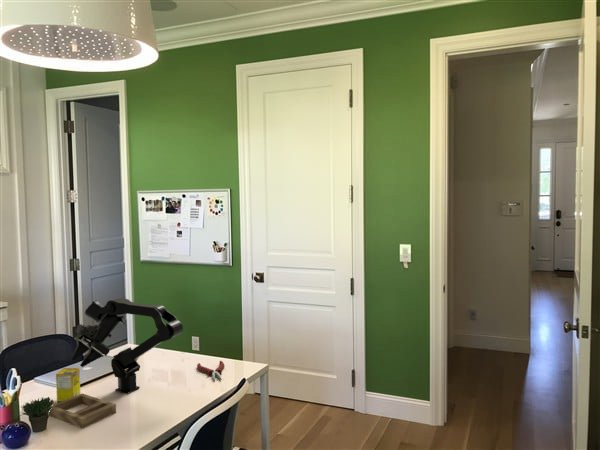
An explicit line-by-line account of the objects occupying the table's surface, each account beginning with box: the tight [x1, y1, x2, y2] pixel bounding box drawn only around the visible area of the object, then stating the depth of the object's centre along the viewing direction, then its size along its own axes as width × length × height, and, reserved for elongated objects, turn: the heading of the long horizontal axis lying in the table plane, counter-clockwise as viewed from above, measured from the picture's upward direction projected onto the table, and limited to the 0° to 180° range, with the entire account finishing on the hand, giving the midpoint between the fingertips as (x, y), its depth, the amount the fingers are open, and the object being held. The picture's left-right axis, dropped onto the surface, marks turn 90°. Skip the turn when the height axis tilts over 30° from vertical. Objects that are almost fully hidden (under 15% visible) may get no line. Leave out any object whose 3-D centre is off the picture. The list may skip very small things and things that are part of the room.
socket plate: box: [48, 393, 117, 429], centre depth 163 cm, size 18×13×3 cm
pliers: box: [196, 360, 225, 382], centre depth 201 cm, size 12×20×3 cm, turn 20°
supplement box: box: [55, 367, 81, 403], centre depth 174 cm, size 6×6×11 cm
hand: (76, 363), depth 176 cm, fingers open, 9 cm apart
